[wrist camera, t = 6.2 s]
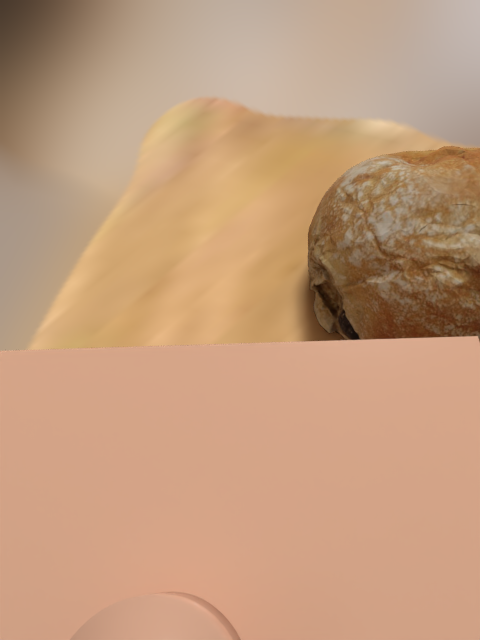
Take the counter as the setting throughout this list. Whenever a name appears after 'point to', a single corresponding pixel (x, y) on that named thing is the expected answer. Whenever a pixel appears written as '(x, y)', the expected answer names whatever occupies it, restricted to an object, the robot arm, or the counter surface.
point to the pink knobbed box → (241, 491)
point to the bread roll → (400, 247)
